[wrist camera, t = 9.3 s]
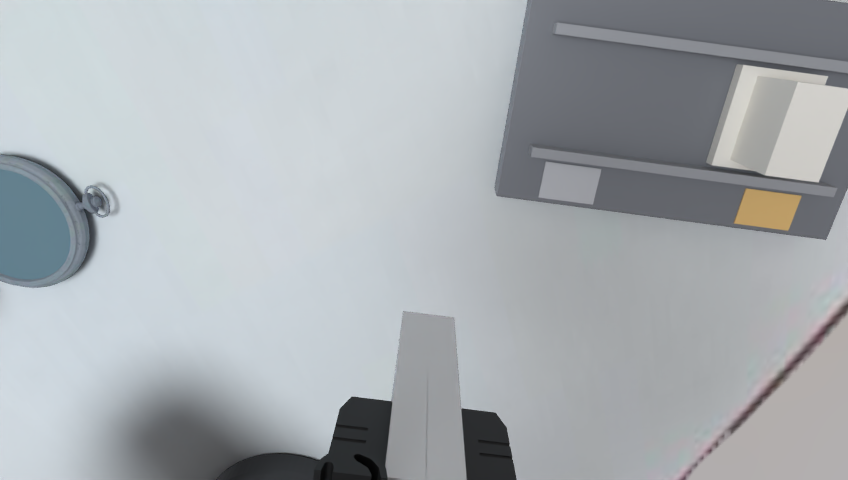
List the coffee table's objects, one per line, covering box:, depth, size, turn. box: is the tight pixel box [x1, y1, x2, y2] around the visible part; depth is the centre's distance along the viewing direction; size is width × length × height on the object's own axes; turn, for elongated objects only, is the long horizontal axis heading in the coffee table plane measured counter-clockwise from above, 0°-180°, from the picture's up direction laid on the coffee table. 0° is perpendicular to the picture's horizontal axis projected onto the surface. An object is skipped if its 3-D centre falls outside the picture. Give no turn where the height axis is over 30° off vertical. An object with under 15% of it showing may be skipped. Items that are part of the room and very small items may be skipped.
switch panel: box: [495, 0, 848, 240], centre depth 34 cm, size 14×22×3 cm, turn 82°
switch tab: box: [706, 64, 848, 183], centre depth 32 cm, size 6×5×5 cm
